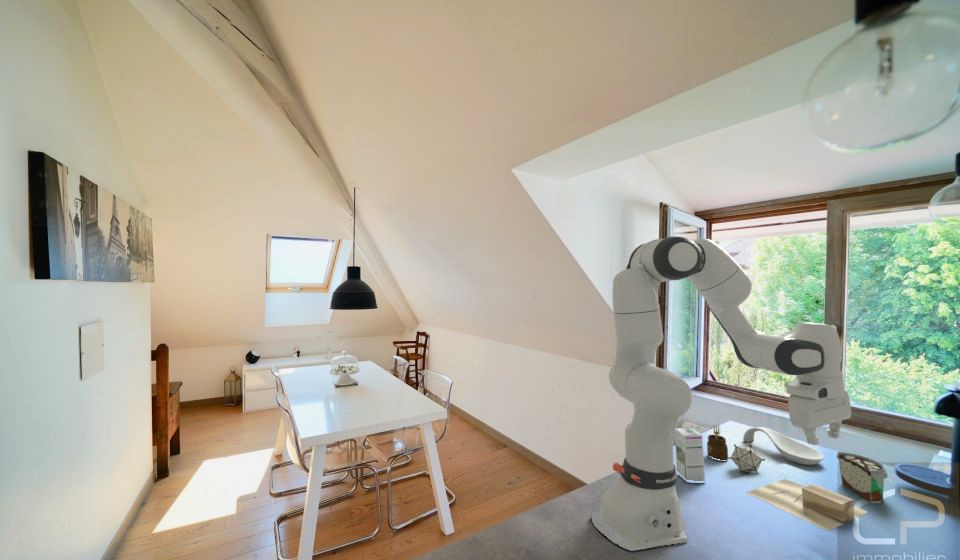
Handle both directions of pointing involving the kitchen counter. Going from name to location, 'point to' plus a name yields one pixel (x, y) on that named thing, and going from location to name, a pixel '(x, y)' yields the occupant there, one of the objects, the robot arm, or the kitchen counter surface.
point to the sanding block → (828, 503)
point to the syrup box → (689, 454)
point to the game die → (746, 459)
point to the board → (796, 503)
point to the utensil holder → (717, 446)
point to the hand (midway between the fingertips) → (823, 440)
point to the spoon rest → (788, 447)
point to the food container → (862, 476)
